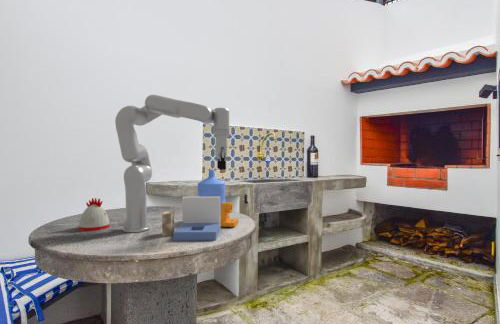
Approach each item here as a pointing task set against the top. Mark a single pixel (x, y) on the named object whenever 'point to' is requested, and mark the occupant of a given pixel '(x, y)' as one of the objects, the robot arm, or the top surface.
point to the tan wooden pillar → (167, 223)
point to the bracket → (227, 215)
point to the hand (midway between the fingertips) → (221, 169)
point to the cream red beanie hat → (94, 217)
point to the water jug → (212, 188)
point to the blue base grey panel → (199, 219)
